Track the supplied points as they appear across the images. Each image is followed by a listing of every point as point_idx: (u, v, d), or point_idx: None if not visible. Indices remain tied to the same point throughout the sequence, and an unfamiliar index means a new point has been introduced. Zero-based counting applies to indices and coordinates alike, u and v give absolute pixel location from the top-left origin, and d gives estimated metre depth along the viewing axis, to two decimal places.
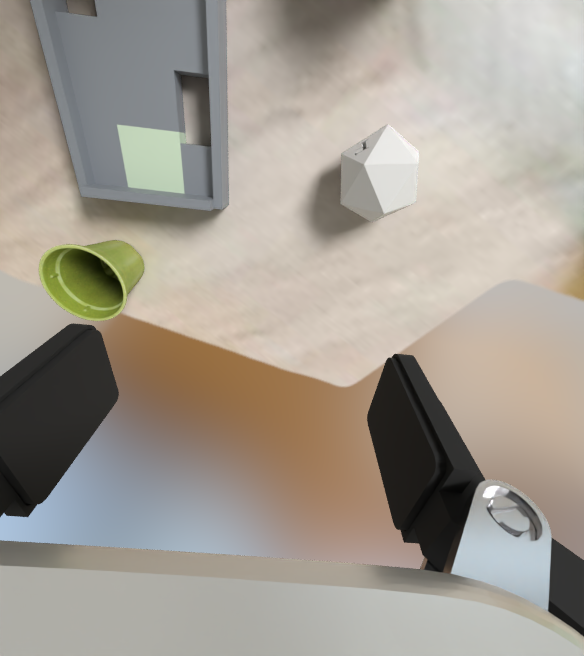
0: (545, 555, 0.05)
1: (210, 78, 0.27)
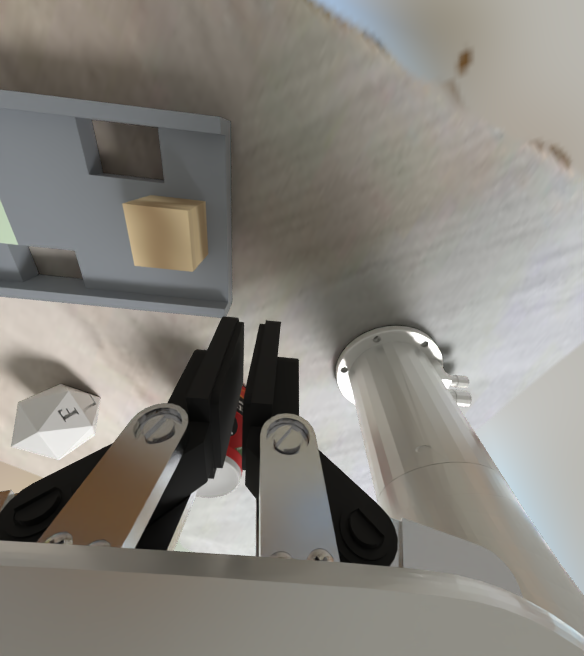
0: (316, 451, 0.06)
1: (71, 295, 0.27)
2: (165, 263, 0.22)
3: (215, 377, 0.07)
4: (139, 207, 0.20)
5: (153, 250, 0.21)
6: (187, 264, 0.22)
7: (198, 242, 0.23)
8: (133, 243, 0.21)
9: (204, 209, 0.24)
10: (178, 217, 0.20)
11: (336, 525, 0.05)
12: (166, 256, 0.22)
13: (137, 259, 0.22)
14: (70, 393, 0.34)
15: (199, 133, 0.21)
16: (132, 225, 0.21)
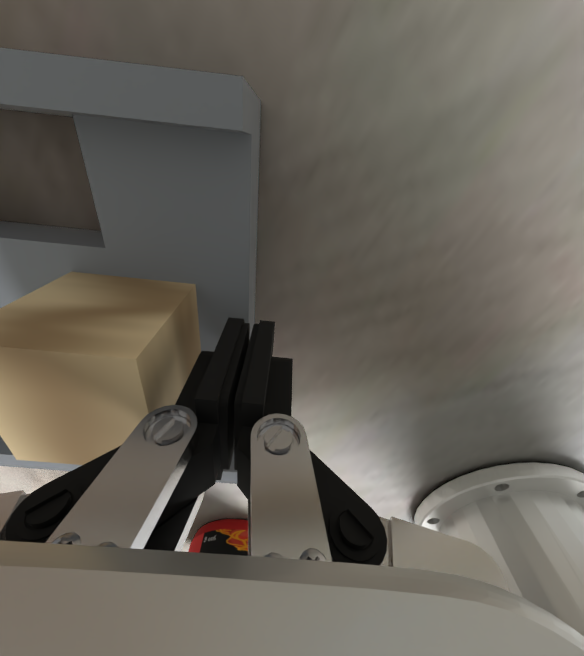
0: (307, 450, 0.06)
1: None
2: (91, 458, 0.09)
3: (223, 378, 0.07)
4: None
5: (54, 436, 0.08)
6: None
7: (178, 387, 0.10)
8: (0, 422, 0.08)
9: (193, 303, 0.11)
10: (110, 373, 0.07)
11: (325, 526, 0.05)
12: (91, 446, 0.08)
13: (20, 450, 0.09)
14: None
15: (183, 130, 0.08)
16: None
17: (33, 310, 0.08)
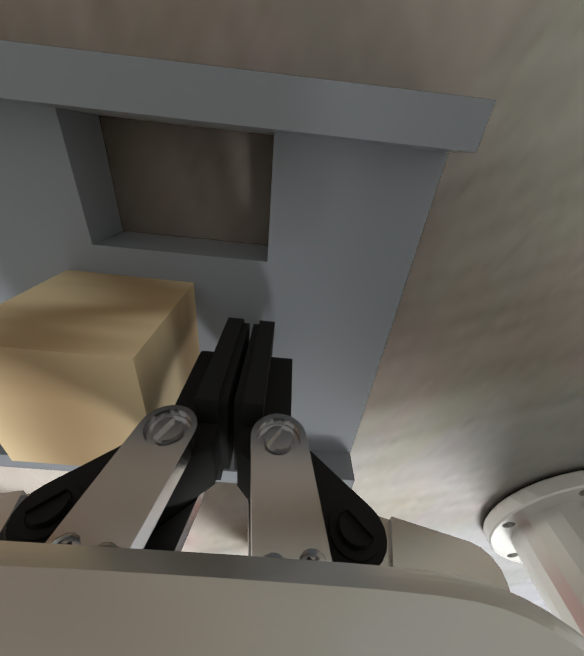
0: (307, 450, 0.06)
1: None
2: (88, 458, 0.09)
3: (223, 379, 0.07)
4: None
5: (50, 436, 0.08)
6: None
7: (176, 386, 0.10)
8: None
9: (191, 301, 0.10)
10: (107, 373, 0.07)
11: (325, 526, 0.05)
12: (88, 447, 0.08)
13: (15, 450, 0.08)
14: None
15: (381, 147, 0.08)
16: None
17: (28, 309, 0.08)
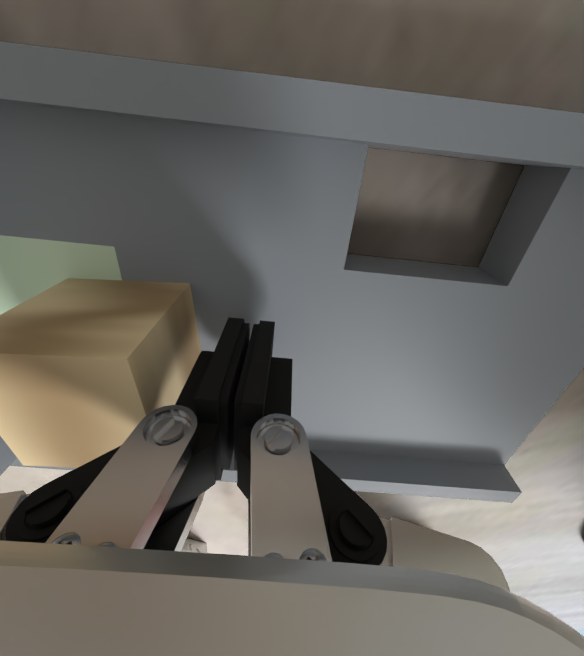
0: (307, 450, 0.06)
1: None
2: None
3: (223, 379, 0.07)
4: None
5: (57, 440, 0.08)
6: None
7: (177, 386, 0.10)
8: (3, 429, 0.08)
9: (189, 302, 0.10)
10: (103, 375, 0.07)
11: (325, 526, 0.05)
12: (93, 449, 0.09)
13: (25, 455, 0.09)
14: None
15: None
16: None
17: (29, 317, 0.08)
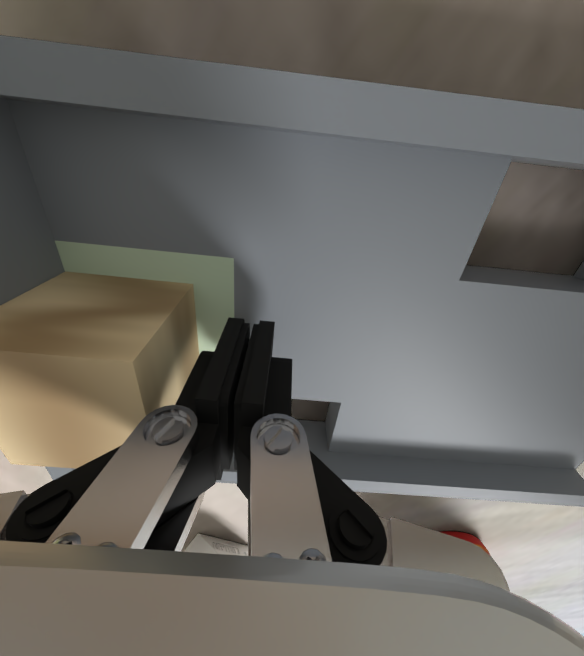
0: (307, 450, 0.06)
1: None
2: (87, 461, 0.09)
3: (224, 378, 0.07)
4: None
5: (50, 440, 0.08)
6: None
7: (176, 388, 0.10)
8: None
9: (191, 303, 0.10)
10: (106, 377, 0.07)
11: (325, 526, 0.05)
12: (87, 450, 0.08)
13: (14, 454, 0.08)
14: None
15: None
16: None
17: (26, 311, 0.08)
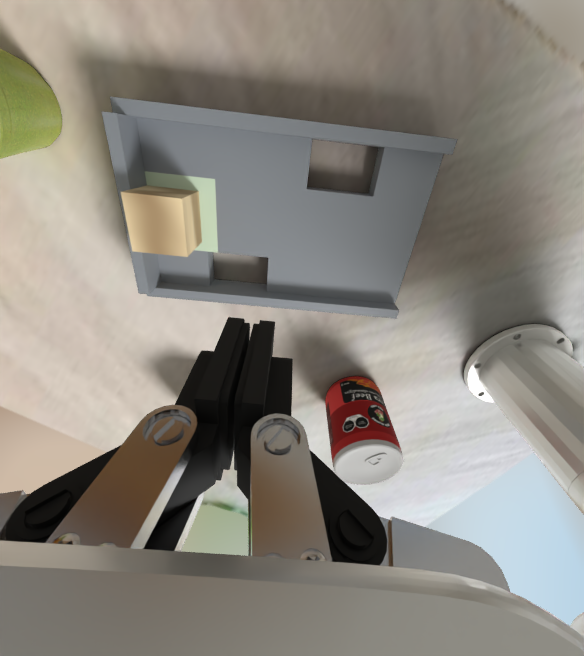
0: (307, 450, 0.06)
1: (260, 299, 0.29)
2: (161, 249, 0.24)
3: (223, 379, 0.07)
4: (136, 195, 0.21)
5: (149, 236, 0.23)
6: (182, 249, 0.23)
7: (192, 229, 0.25)
8: (131, 230, 0.23)
9: (198, 199, 0.25)
10: (173, 205, 0.22)
11: (325, 526, 0.05)
12: (162, 242, 0.23)
13: (135, 245, 0.23)
14: None
15: (420, 152, 0.24)
16: (130, 213, 0.22)
17: (142, 190, 0.23)
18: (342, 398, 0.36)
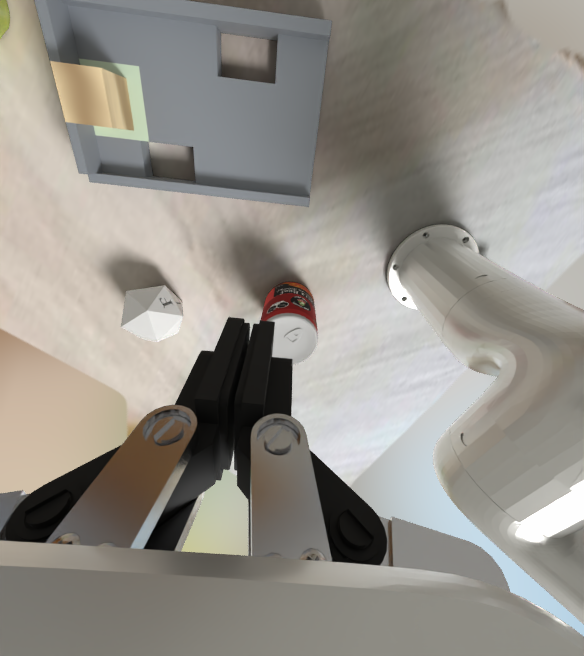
0: (307, 450, 0.06)
1: (187, 185, 0.34)
2: (89, 120, 0.28)
3: (223, 378, 0.07)
4: (63, 64, 0.26)
5: (78, 107, 0.27)
6: (107, 120, 0.28)
7: (118, 108, 0.29)
8: (62, 99, 0.27)
9: (125, 85, 0.30)
10: (94, 74, 0.26)
11: (325, 526, 0.05)
12: (89, 112, 0.28)
13: (67, 115, 0.28)
14: (166, 287, 0.41)
15: (309, 39, 0.28)
16: (59, 82, 0.26)
17: None
18: (273, 295, 0.41)
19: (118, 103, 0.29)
